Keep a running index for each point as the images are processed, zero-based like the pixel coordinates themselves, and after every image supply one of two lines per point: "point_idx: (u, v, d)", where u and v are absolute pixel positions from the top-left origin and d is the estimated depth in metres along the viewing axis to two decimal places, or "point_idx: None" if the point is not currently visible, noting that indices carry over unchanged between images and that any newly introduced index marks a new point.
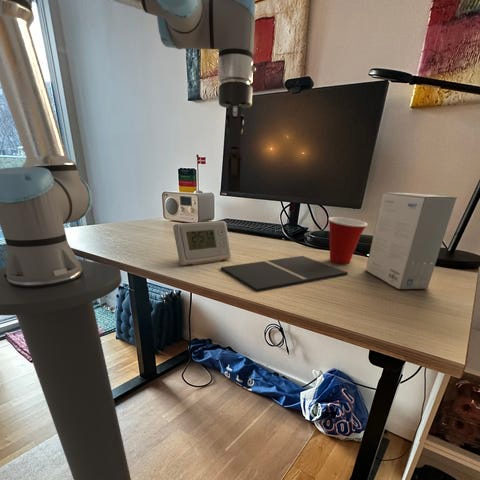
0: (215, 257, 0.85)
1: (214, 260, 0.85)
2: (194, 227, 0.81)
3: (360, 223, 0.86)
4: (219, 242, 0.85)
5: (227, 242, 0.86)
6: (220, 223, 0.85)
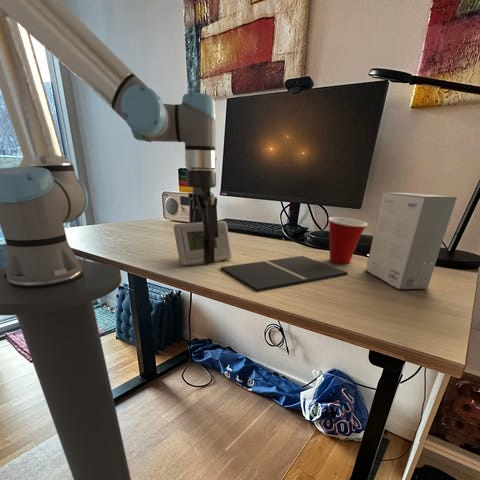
0: (216, 257, 0.84)
1: (214, 260, 0.85)
2: (195, 227, 0.81)
3: (360, 223, 0.86)
4: (220, 242, 0.85)
5: (228, 242, 0.86)
6: (221, 223, 0.85)
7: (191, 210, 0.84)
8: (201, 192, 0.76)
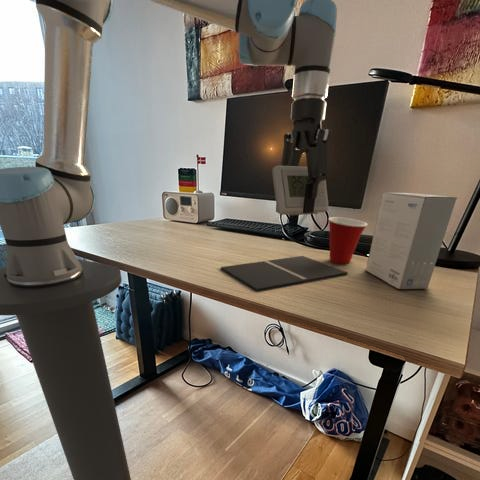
0: (314, 207, 0.74)
1: None
2: (295, 170, 0.70)
3: (360, 223, 0.86)
4: (318, 191, 0.74)
5: (325, 192, 0.76)
6: None
7: (286, 154, 0.74)
8: (309, 126, 0.66)
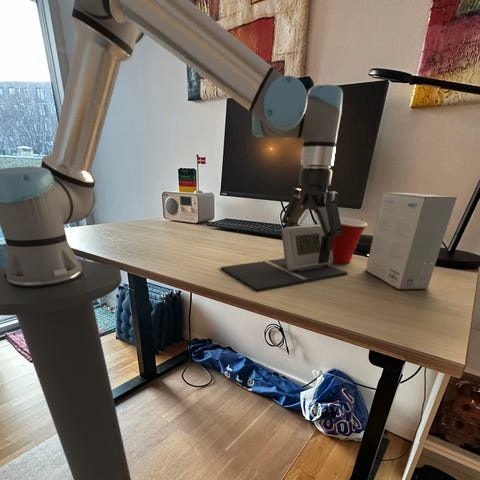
0: None
1: (318, 266, 0.80)
2: (303, 231, 0.76)
3: (360, 223, 0.86)
4: None
5: None
6: None
7: (291, 206, 0.80)
8: (316, 191, 0.71)
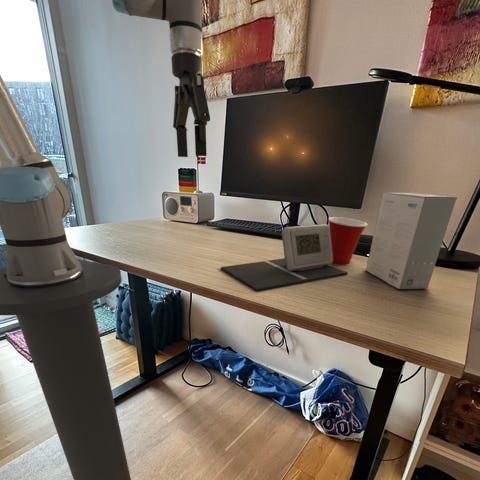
0: (320, 262, 0.80)
1: (318, 266, 0.80)
2: (303, 231, 0.76)
3: (360, 223, 0.86)
4: (323, 247, 0.80)
5: (330, 247, 0.81)
6: (325, 227, 0.80)
7: (176, 106, 0.81)
8: (187, 79, 0.72)
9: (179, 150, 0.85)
